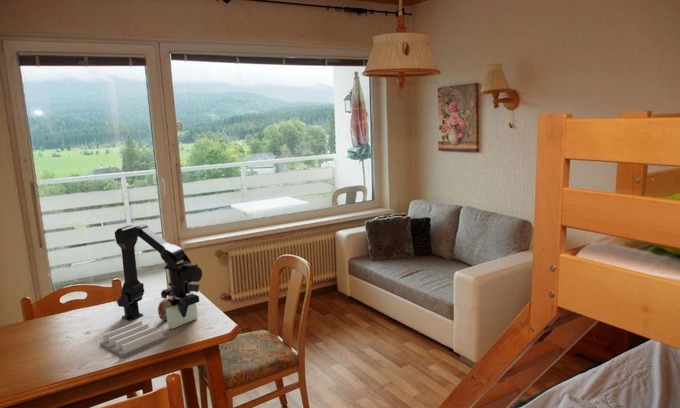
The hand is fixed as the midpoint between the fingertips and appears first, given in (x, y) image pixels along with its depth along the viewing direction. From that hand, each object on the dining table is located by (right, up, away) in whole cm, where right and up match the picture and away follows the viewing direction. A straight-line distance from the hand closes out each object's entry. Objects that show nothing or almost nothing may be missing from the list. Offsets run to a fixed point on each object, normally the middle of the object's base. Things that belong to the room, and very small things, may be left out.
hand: (182, 316), depth 192 cm
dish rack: (-14, -7, -13) cm, 20 cm away
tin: (-8, -2, +10) cm, 13 cm away
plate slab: (0, -3, +1) cm, 3 cm away
